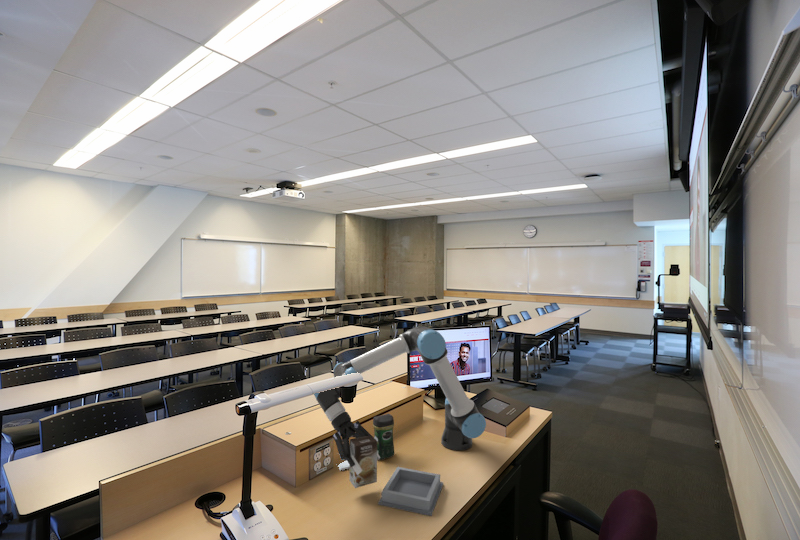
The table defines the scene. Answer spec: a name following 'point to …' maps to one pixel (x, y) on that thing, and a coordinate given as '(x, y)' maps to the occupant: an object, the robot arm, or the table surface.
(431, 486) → the dock tray
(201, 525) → the table surface
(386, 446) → the coffee jar
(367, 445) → the coffee box
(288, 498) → the table surface
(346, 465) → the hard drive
